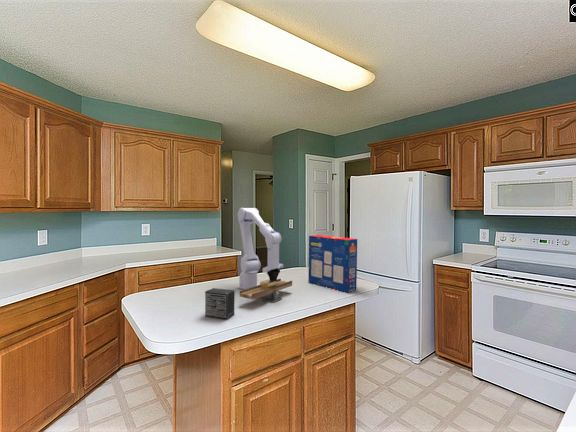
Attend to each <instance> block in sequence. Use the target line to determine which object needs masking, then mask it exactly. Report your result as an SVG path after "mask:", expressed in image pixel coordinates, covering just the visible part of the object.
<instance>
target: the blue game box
mask: <svg viewBox="0 0 576 432" xmlns="http://www.w3.org/2000/svg"><path fill="white" fill-rule="evenodd" d="M357 269H358V238H350V237H341V236H332V235H330V236H329V235H323V234H316V235H315V234H314V235H308V282H307V283H308V284H311V285H314V284H315V285H316V286H318V287H322V288H326V287H327V288H326V289H329V288H330V290H333V289H334V291H337V290H338V292H341V293H344V292H345V293H344V294H350V293H352V291H353V292H356V291H357V284H358V283H357V281H358V280H357V278H358V277H357V276H358V272H357V271H358V270H357ZM355 290H356V291H355Z"/></svg>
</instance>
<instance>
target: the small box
mask: <svg viewBox="0 0 576 432" xmlns="http://www.w3.org/2000/svg"><path fill="white" fill-rule="evenodd" d="M204 293H205V294H204V295H205V298H204V299H205V303H204V304H205V308H204V309H205V311H204V312H205V314H204V317H206V318H214V319H221V320H225V321H227V320H229V319H230V318H232V317H234V316H235V297H236V296H235V290H234V289H225V288H215V287H213V288H211V289H207V290H205V292H204Z"/></svg>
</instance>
